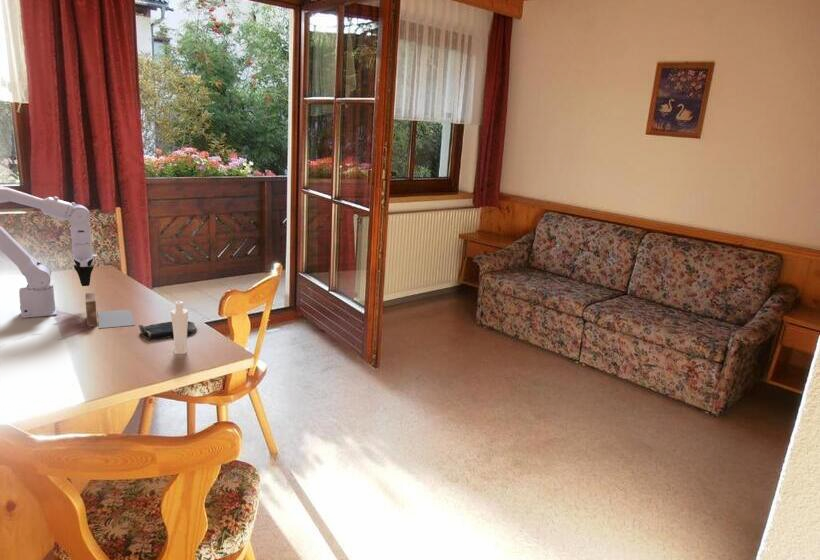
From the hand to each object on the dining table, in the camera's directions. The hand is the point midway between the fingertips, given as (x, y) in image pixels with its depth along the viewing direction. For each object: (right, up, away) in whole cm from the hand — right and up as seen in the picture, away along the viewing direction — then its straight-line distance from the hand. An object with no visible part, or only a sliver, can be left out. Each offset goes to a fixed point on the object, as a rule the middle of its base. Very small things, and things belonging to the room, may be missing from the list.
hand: (85, 282), depth 190 cm
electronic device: (+33, -16, -12) cm, 39 cm away
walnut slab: (+6, -12, -7) cm, 16 cm away
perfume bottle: (+42, -20, -25) cm, 53 cm away
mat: (+12, -12, -4) cm, 17 cm away
